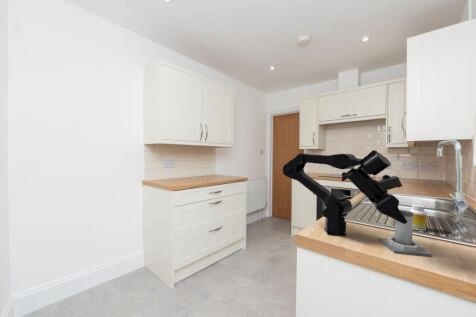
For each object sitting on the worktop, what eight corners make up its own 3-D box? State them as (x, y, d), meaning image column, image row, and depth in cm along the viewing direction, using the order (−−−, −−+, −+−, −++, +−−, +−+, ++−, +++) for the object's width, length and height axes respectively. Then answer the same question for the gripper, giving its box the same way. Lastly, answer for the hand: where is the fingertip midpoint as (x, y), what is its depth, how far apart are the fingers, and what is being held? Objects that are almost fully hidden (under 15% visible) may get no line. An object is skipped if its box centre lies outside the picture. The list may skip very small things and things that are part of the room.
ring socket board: (394, 252, 64) (394, 246, 64) (378, 239, 74) (379, 234, 74) (431, 256, 62) (431, 250, 62) (410, 242, 72) (411, 237, 72)
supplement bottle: (429, 231, 84) (430, 207, 84) (414, 230, 85) (415, 206, 85) (420, 226, 89) (421, 204, 89) (406, 225, 90) (407, 203, 90)
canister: (398, 247, 66) (400, 213, 66) (391, 241, 71) (392, 209, 71) (415, 249, 66) (417, 214, 65) (406, 242, 70) (408, 210, 70)
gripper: (391, 169, 62) (438, 211, 58) (378, 166, 79) (413, 198, 75) (360, 192, 65) (401, 233, 61) (354, 184, 82) (386, 216, 78)
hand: (401, 218), depth 69 cm, fingers open, 9 cm apart
